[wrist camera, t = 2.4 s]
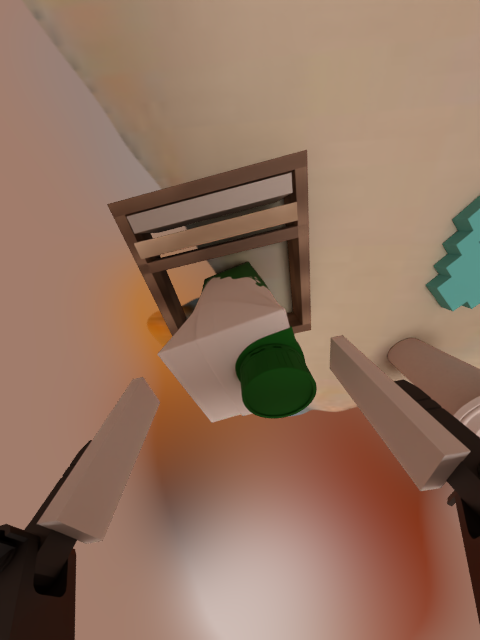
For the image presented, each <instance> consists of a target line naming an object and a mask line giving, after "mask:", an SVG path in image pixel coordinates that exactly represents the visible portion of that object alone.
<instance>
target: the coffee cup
mask: <svg viewBox="0 0 480 640" xmlns="http://www.w3.org/2000/svg"><path fill="white" fill-rule="evenodd" d="M388 360H389V361H390V362H391V363H392V364H393V365H394V366H395V367H396V368H397V369H398V370H399V371H400V372H401V373H402V374H403V375H404V376H405V377H406V378H408V379H409V380H410V381H411V382H412V383H413V384H414V385H415V386H417V387H419V388H420V389H421V390H422V391H423V392H425V393H426V394H427V395H428V396H430V397H431V399H432V400H434V401H436V402H437V403H438V404H439V405H441V407H442V408H444V409H445V410H447V411H448V412H449V413H450V414H452V415H453V416H454V417H455V418H457V419H458V420H459V421H460V422H461V423H463V424H464V425H465V426H466V427H468V428H469V429H470V430H471V431H472V432H474V433H475V434H476V435H477V436H479V437H480V369H478V368H476V367H474V366H472V365H470V364H468V363H466V362H464V361H462V360H460V359H457V358H455V357H453V356H451V355H449V354H447V353H445V352H443V351H441V350H439V349H437V348H435V347H433V346H430V345H428V344H426V343H424V342H422V341H420V340H418V339H415V338H409V339H405V340H402V341H400V342H398V343H397V344H395V345H394V346H393V347H392V348H391V349H390V351H389V353H388Z"/></svg>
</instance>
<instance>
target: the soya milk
mask: <svg viewBox="0 0 480 640" xmlns="http://www.w3.org/2000/svg"><path fill="white" fill-rule="evenodd" d="M158 356H159V357H160V358H161V359H162V361H163V362H164V363H165V365H166V366H167V367H168V368H169V370H170V371H171V372H172V373H173V374H174V376H175V377H176V378H177V380H178V381H179V382H180V383H181V385H182V386H183V387H184V388H185V390H186V391H187V392H188V393H189V395H190V396H191V397H192V398H193V400H194V401H195V402H196V403H197V405H199V407H200V408H201V410H202V411H203V412H204V413H205V415H206V416H207V417H208V418H209V420H210V421H211V422H215V421H219V420H222V419H226V418H229V417H233V416H236V415H240V414H241V415H242V416H245V415H248V414H252V413H253V414H255V415H257V416H260V417H264V418H282V417H287V416H291V415H294V414H296V413H298V412H300V411H302V410H303V409H305V408H306V407H307V406H308V405H309V404H310V403H311V402H312V400H313V399H314V397H315V395H316V382H315V380H314V379H313V377H312V375H311V373H310V371H309V369H308V368H307V366H306V363H305V359H304V355H303V352H302V350H301V347H300V345H299V344H298V342H297V341H296V339H295V336H294V332H293V329H292V326H290V325H289V322H288V318H287V314H286V310H285V308H283V307H282V306H280V305H279V304H278V303H277V301H276V300H275V298H274V296H273V295H272V293H271V292H270V290H269V289H268V287H267V286H266V284H265V283H264V281H263V280H262V278H261V277H260V276H259V275H258V273H257V272H256V271H255V270H254V268H253V267H252V266H251V264H250V263H249V262H246V263H244V264H241V265H239V266H236V267H234V268H231V269H229V270H226V271H224V272H221V273H219V274H216V275H214V276H211V277H209V278H207V279H205V280H204V285H203V289H202V293H201V296H200V298H199V300H198V302H197V304H196V307H195V309H194V311H193V313H192V314H191V316H190V317H189V318H188V319H187V320H186V322H185V323H184V324H183V325H182V326H181V327H180V329H179V330H178V331H177V332H176V333H175V334H174V336H173V337H172V338H171V339H170V340H169V341H168V343H167V344H166V345H165V346H164V347H163V348H162V350H161V351H160V352H159V353H158Z"/></svg>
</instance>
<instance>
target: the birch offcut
mask: <svg viewBox="0 0 480 640" xmlns="http://www.w3.org/2000/svg"><path fill="white" fill-rule="evenodd" d="M297 220H298V216H297V202H294V203H290V204H286V205H282V206H278V207H275V208H271V209H267V210H263V211H259V212H255V213H251V214H247V215H243V216H239V217H236V218H232V219H228V220H224V221H220V222H216V223H212V224H208V225H204V226H200V227H196V228H193V229H189V230H185V231H181V232H177V233H173V234H169V235H165V236H162V237H157V238H153V239H150V240H146V241H142V242H138V243H134V245H135V247H136V249H137V251H138V253H139V256H140V258H141V259H145V258H149V257H153V256H157V255H161V254H164V253H168V252H173V251H177V250H181V249H184V248H189V247H192V246H197V245H201V244H205V243H209V242H213V241H217V240H221V239H225V238H229V237H233V236H237V235H241V234H245V233H249V232H253V231H257V230H261V229H265V228H269V227H273V226H277V225H281V224H285V223H289V222H293V221H297Z"/></svg>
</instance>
